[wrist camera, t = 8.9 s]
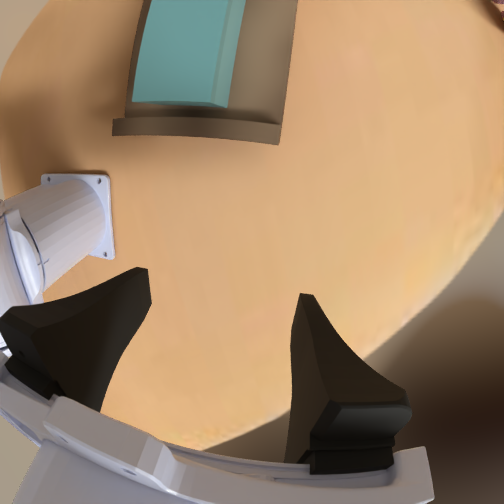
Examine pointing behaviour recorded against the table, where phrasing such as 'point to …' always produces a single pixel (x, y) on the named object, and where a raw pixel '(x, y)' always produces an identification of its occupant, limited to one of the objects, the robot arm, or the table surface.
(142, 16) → the display stand
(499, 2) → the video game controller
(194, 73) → the teal rectangular block
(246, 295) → the table surface
